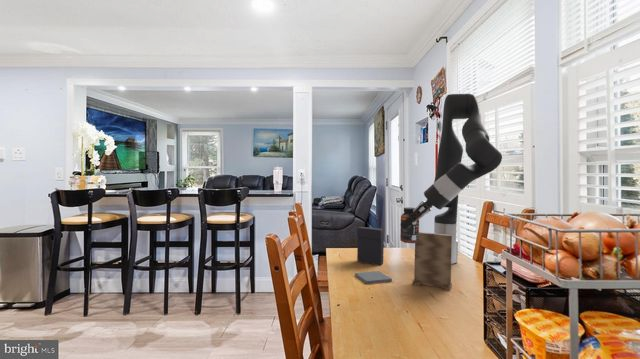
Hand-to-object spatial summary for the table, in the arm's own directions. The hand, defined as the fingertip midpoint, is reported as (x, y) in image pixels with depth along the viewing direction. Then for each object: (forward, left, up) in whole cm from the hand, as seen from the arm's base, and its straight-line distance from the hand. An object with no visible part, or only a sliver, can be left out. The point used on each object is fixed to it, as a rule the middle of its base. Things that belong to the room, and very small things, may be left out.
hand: (404, 225), depth 113 cm
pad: (+5, -13, -21) cm, 25 cm away
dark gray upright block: (-4, -33, -22) cm, 40 cm away
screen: (-12, 0, -21) cm, 24 cm away
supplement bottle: (-1, +1, -5) cm, 6 cm away
